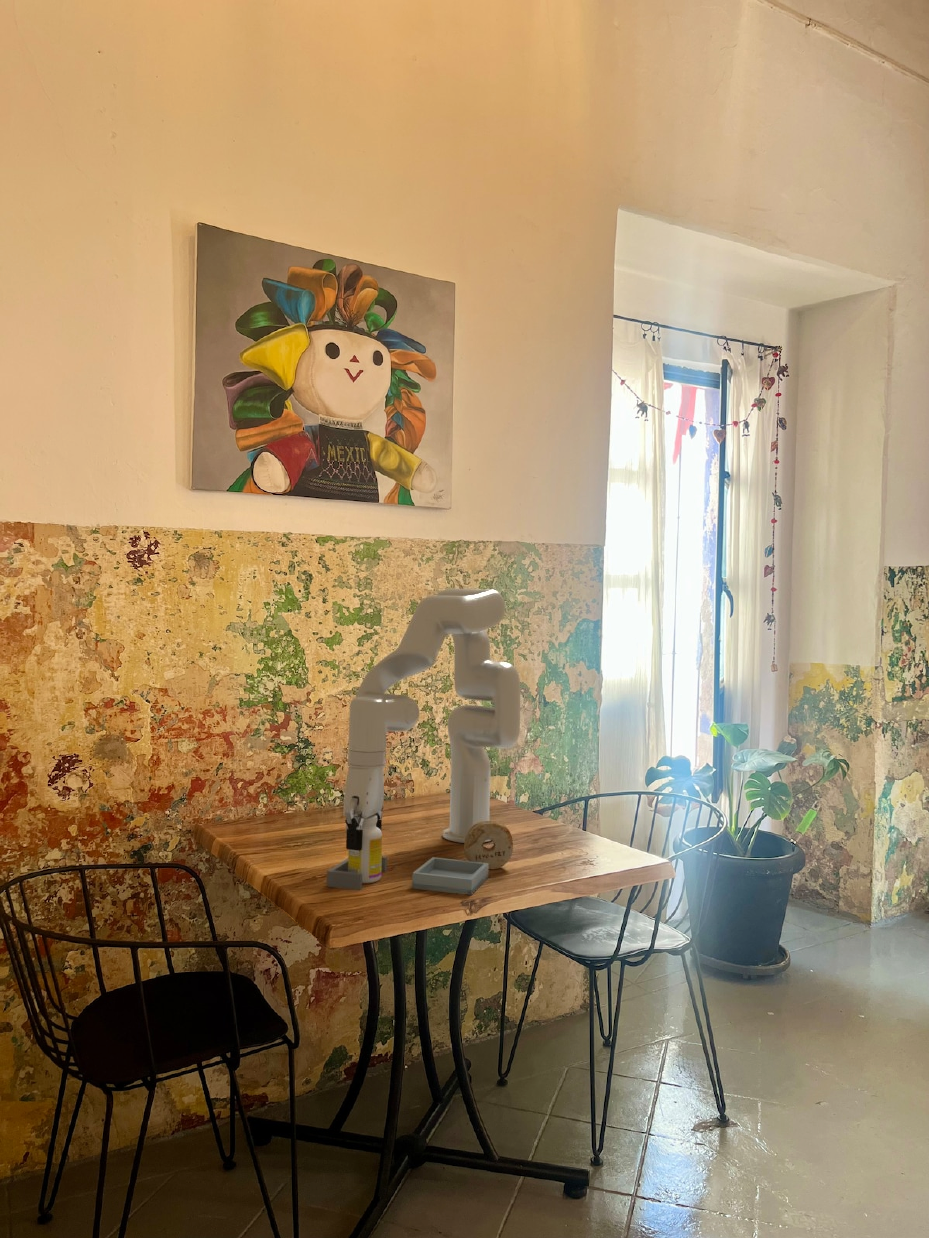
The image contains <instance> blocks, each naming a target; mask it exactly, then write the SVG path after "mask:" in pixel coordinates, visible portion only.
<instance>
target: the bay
mask: <svg viewBox="0 0 929 1238" xmlns="http://www.w3.org/2000/svg"><path fill="white" fill-rule="evenodd" d="M387 871H388V856H387V855H385V856H384V855H382V864H381V873H386V872H387ZM326 887H329V888H338V889H345V890H351V891H352V890H354V891H361V890H363V883H362V874H361V873H353V872H348V857H347V858H346V859H344V860H342V861H341V862H339V863H338V864H336V865H335V866H334V865H333V867H332V868H329V870H327V871H326Z"/></svg>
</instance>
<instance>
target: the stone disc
mask: <svg viewBox="0 0 929 1238" xmlns="http://www.w3.org/2000/svg"><path fill="white" fill-rule="evenodd" d="M488 839H490V840H491V841H492V842H493V845H492V847H490V848H488V847H486V846H484V843H485V842H484V841H485V840H488ZM513 841H514V840H513V836H512V833H511V832H510V829H509V828H508V827H507V826H506V825H504V824H503V823H501V822H497V821H495V820H493V821H490V820H489V821H483V822H478V823H476V824H475V825H473V826H472V827H471V828H470V829H469V831H468V832H467V835H466V838H465V843H463V853H464V855H465V858H466V861H472V862H482V863H489V868H488V869H489V870H498V869H501V868H502V867H504V866H505V865H506V864H507V863H508V862H509V860H510V859H511V857H512V855H513V851H514V844H513Z"/></svg>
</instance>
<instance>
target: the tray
mask: <svg viewBox="0 0 929 1238" xmlns="http://www.w3.org/2000/svg"><path fill="white" fill-rule="evenodd" d="M488 868H489V863H482V862H472V861H468V860H462V859H453V858H446V857H445V858H443V857H435V856H432V857H431V858H429V859H428V860H427V861H426V862H425V863H423V864H421V865H420V867H418V868H417V869H416V870H414V871H413V872H412V879H411V880H412V882H411V883H412V885H411V886H412V889H416V890H423V891H431V892H439V893H449V894H456V893H460V894H459V895H464V894H469V895H468V896H472V895H473V894H475V892H476V891H477V890H478V889H479V888H480V887H481V886H482V885H483V884H484V883H485V882H486V881H487V880H488V879H489V870H488ZM487 878H488V879H487ZM486 879H487V880H486ZM485 880H486V881H485ZM484 881H485V882H484ZM482 883H483V884H482ZM481 884H482V885H481ZM479 886H480V887H479ZM478 887H479V888H478ZM477 888H478V889H477ZM475 890H476V891H475ZM472 893H473V894H472Z"/></svg>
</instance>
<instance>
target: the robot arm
mask: <svg viewBox="0 0 929 1238" xmlns="http://www.w3.org/2000/svg"><path fill="white" fill-rule="evenodd" d="M505 611H506V603H505V599H504V597H503V596H502V594H501V593H500V592H499V591H498V590H494V589H487V588H481V589H479V588H447V589H443V590H441V591H439V592H437V594H436V595H429V596H426V597H424V598H422V599H421V600H420V601H419V603H418V604H417V606H416V609H415V610H414V613H413V614H412V617H411V619H410V621H409V623H408V625H407V628H406V630H405V631H404V633H403V636H402V639H401V641H400V643H399V645H398V647H397V648H396V649H394V650H393V651H392V652H391V653H388V655H386V656H385V657H384V658H382V659H381V660H380V661H379V662H378V663H376V664H375V665H374V666H372V668H370V670H369V671H368V672H367V673H366V675H365V676H364V678H363V679H362V682H361V684H360V685H359V687H358V690H357V692H356V694H355V697H353V698H352V699H351V700H350V703H349V717H348V718H349V719H348V720H349V723H348V750H347V751H348V752H347V753H348V754H347V767H348V769H347V774H346V780H345V788H344V799H343V815H344V817H345V820H344V822H345V824H346V825H345V829H346V837H345V838H346V840H345V841H346V842H345V848H346V850H348V851H349V850H358V851H360V850H362V839H363V830H361V827H362V824H363V820H364V819H365V818H368V817H370V816H372V815H374V814H375V815H377V823H376V827H378V828H379V829H380V830H381V831H382V825H383V823H382V820H383V809H384V800H385V793H384V791H385V790H384V789H385V788H384V784H385V782H384V768H385V767H386V762H387V761H386V756H387V755H386V753H387V752H386V751H387V732H398V733H401V732H406V731H409V730H411V729H413V728H414V727H415V726H416V724H417V722H419V718H420V709H419V706H418V703H417V702H416V700H414V699H413V698H412V697H409V696H407V695H402V694H394V693H393V694H391V693H386V692H387V691H388V690H389V689H390V688H391V687H392V686H393V685H395V684H396V683H399V682H400V681H402V680H404V679H406V678H410V677H412V676H416V675H417V674H420V673H422V672H425V671H427V670H429V669H431V668H432V667H433V665H434V664H435V662H436V660H437V657H438V655H439V652H440V651H441V648H442V645H443V643H444V641H445V639H446V637H447V636H448V635H451V637H452V639H453V640H452V641H453V645H454V646H453V647H454V649H453V650H454V651H453V652H454V659H453V660H454V670H453V671H454V674H453V675H454V679H453V680H454V689H455V693H456V695H457V696H458V697H459V698H461V699H465V700H469V701H477V702H478V701H480V702H481V701H482V702H492V703H493V705H494V706H485V705H474V704H464V705H463V704H462V705H459V706H457V707H455V708H454V709H452V711H451V712H450V714H449V716H448V719H447V732H448V737H449V744H450V745H449V747H450V791H449V792H450V794H449V795H450V796H449V798H450V800H449V802H450V803H449V827H448V828H445V829H444V830H443V831H442V838H444V839H445V840H447V841H451V842H453V843H454V842H455V843H462V844H464V843H465V838H466V835H467V832H468V831H469V829H470V828H471V827H472V826H473V825H475V824H476V823H478V822H483V821H490V809H491V808H490V803H491V774H492V773H491V772H492V771H491V768H492V767H491V760H490V758H489V755H488V753H487V751H486V749H485V748H489V749H490V748H492V749H499V750H500V749H502V750H503V749H504V750H506V749H510V748H513V747H514V746H515V745H516V743H518V739H519V736H520V730H521V679H520V675H519V672H518V670H517V669H516V667H515V666H514V665H513V664H511V663H510V662H506V661H492V659H491V649H490V648H491V644H490V637H489V634H488V632H487V630H488V629H491V628H494V627H496V626H497V625H498V624H499V623H501V621H502V620H503V618H504V616H505V613H506V612H505ZM356 819H359V820H358V823H357V821H356ZM491 841H492V840H490V839H488V840H485V841H484V843H488V842H491Z"/></svg>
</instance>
